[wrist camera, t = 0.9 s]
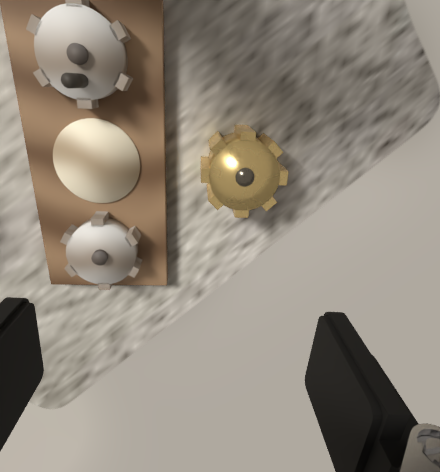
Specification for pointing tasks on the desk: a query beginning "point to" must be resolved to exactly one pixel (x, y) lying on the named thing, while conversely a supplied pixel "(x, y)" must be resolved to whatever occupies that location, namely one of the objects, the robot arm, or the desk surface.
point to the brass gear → (242, 171)
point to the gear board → (94, 134)
